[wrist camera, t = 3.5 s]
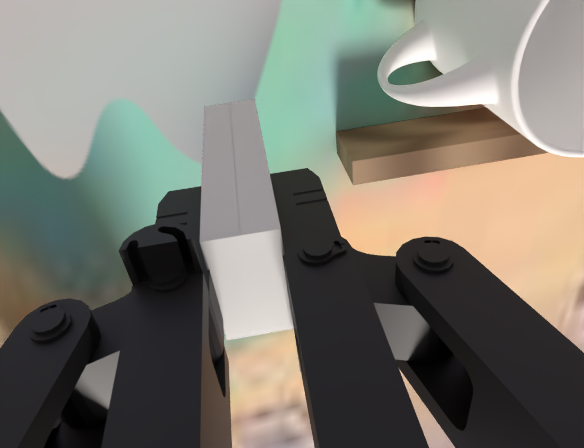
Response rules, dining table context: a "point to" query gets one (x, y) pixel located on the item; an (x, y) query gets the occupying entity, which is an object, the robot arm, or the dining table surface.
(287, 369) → the dining table surface
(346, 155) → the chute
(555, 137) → the mug
